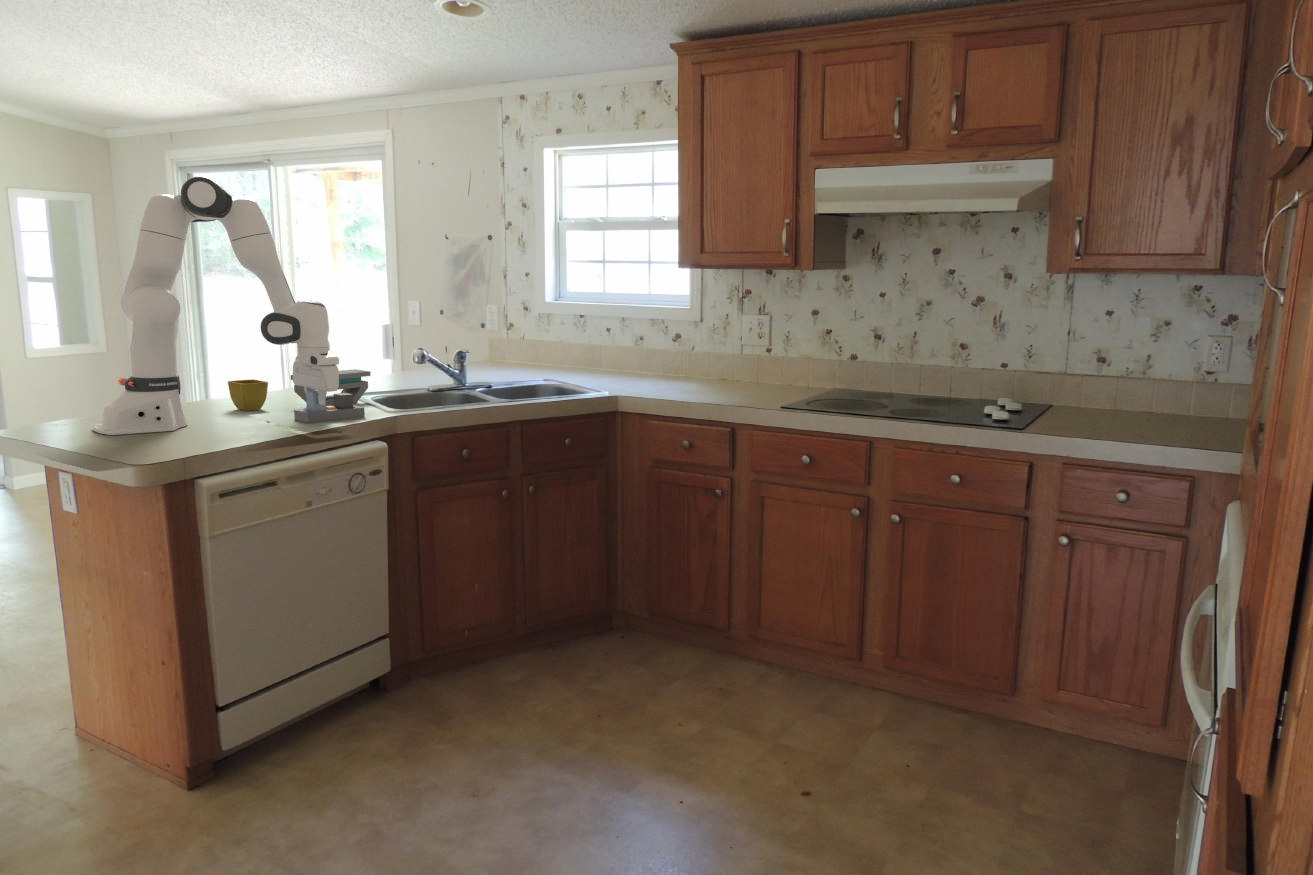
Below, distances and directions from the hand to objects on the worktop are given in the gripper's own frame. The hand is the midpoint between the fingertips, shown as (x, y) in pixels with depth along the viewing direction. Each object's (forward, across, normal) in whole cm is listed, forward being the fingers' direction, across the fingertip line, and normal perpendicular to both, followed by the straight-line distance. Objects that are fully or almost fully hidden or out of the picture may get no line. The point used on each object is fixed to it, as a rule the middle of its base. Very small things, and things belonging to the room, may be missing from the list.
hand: (315, 403), depth 261 cm
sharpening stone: (+6, -27, +20) cm, 34 cm away
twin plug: (+5, 0, +9) cm, 10 cm away
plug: (+3, 0, 0) cm, 3 cm away
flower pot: (+6, -35, -4) cm, 36 cm away
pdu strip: (+6, 0, +4) cm, 7 cm away
